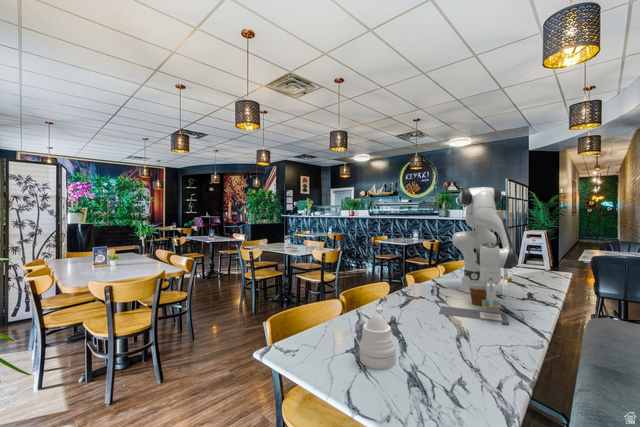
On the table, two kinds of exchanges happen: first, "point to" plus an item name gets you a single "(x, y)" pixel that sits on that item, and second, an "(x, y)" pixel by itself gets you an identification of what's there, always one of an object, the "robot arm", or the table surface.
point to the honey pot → (377, 343)
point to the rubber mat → (475, 314)
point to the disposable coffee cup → (477, 293)
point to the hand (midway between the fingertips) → (490, 305)
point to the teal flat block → (486, 304)
